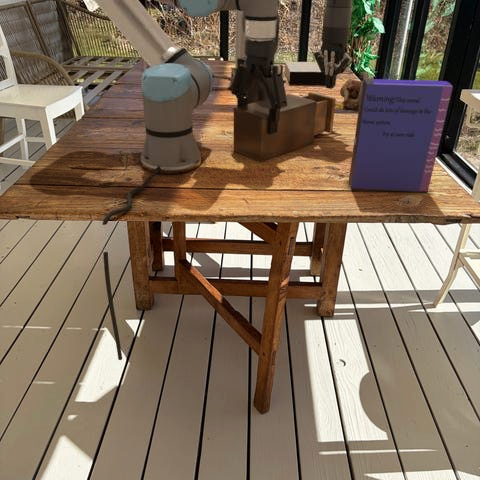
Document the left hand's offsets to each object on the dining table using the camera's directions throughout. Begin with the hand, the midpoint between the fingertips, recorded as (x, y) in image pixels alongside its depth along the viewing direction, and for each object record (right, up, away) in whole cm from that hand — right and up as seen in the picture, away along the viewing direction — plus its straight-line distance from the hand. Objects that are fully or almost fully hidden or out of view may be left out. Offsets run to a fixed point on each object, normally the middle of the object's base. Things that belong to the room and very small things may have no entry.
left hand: (257, 127), depth 127 cm
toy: (-32, +45, +87) cm, 103 cm away
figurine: (-2, +31, +65) cm, 73 cm away
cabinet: (+5, -3, +8) cm, 10 cm away
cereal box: (+30, -17, -14) cm, 38 cm away
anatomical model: (+36, +19, +47) cm, 62 cm away
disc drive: (+25, +41, +82) cm, 94 cm away
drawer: (+15, +2, +15) cm, 21 cm away
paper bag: (+2, +47, +91) cm, 102 cm away
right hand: (+22, +15, +14) cm, 30 cm away
